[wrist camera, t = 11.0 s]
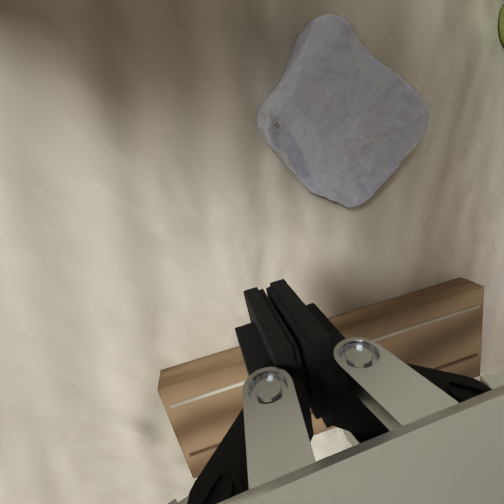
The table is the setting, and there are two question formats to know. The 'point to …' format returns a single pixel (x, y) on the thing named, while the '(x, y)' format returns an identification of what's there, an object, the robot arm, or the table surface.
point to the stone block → (340, 114)
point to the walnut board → (349, 325)
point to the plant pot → (501, 24)
